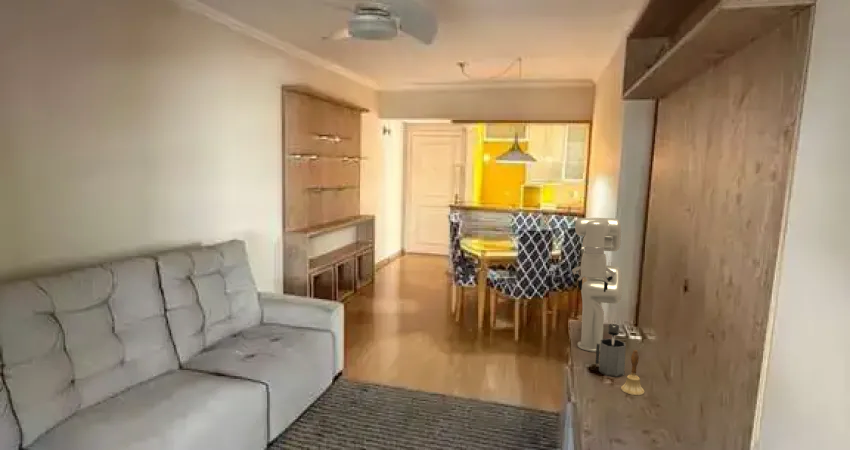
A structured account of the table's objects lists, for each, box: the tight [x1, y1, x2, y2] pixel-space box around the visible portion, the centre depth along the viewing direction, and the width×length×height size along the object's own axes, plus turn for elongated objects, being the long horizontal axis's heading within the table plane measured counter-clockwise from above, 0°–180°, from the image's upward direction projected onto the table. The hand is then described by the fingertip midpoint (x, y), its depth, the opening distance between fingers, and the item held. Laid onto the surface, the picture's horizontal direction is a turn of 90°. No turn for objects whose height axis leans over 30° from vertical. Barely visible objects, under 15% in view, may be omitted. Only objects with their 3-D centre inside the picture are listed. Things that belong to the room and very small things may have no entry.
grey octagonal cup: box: [595, 338, 627, 378], centre depth 205 cm, size 10×11×12 cm
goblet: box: [607, 323, 620, 347], centre depth 204 cm, size 7×7×16 cm
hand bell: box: [620, 349, 645, 396], centre depth 188 cm, size 8×8×16 cm
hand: (592, 290), depth 210 cm, fingers open, 9 cm apart
